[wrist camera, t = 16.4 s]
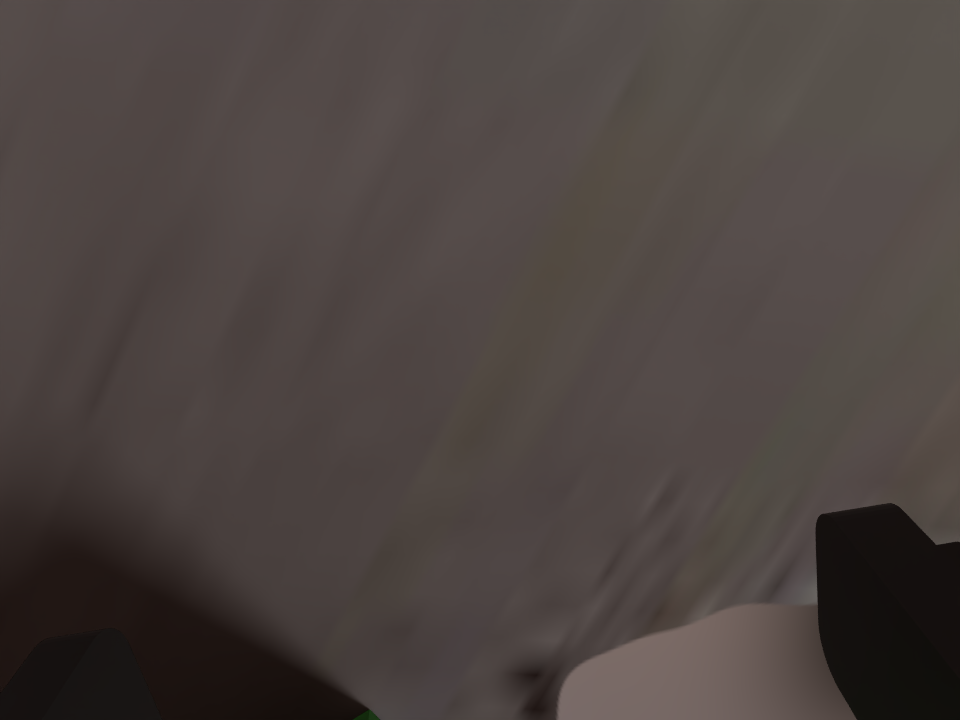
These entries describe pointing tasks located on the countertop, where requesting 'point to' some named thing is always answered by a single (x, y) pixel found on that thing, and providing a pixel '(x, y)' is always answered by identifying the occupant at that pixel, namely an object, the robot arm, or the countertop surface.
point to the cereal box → (367, 716)
